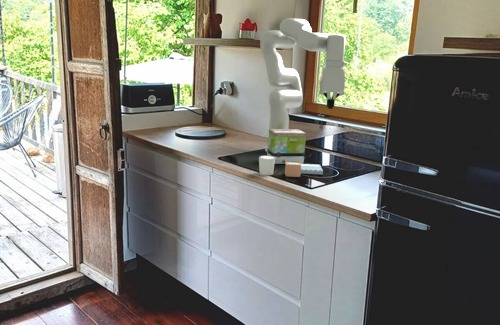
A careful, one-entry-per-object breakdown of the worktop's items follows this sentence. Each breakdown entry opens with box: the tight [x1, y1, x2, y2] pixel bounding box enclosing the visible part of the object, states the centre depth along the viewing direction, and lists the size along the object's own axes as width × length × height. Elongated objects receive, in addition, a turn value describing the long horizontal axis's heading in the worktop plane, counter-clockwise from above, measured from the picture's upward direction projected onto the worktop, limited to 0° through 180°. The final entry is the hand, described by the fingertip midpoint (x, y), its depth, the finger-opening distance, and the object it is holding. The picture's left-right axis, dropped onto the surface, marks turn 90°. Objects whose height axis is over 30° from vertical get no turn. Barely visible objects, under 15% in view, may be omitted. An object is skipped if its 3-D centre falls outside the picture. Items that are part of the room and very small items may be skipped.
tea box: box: [266, 128, 307, 165], centre depth 212 cm, size 15×10×15 cm
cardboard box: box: [284, 161, 301, 178], centre depth 192 cm, size 5×6×5 cm
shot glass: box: [258, 155, 275, 176], centre depth 192 cm, size 7×7×7 cm
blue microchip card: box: [300, 163, 324, 175], centre depth 200 cm, size 11×14×2 cm
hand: (330, 108), depth 196 cm, fingers closed
